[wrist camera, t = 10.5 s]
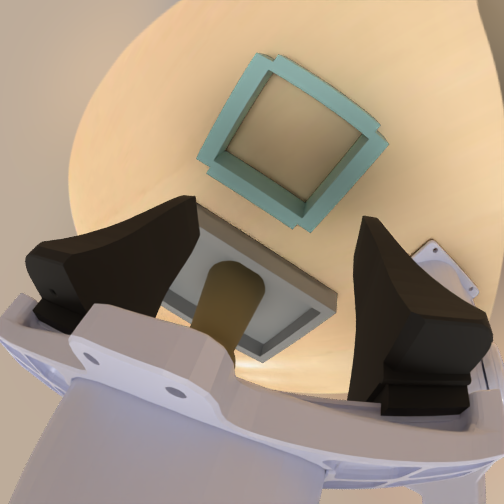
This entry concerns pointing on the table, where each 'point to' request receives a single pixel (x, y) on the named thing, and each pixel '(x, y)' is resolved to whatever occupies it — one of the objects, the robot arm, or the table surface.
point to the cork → (228, 303)
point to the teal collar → (262, 187)
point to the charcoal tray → (276, 288)
